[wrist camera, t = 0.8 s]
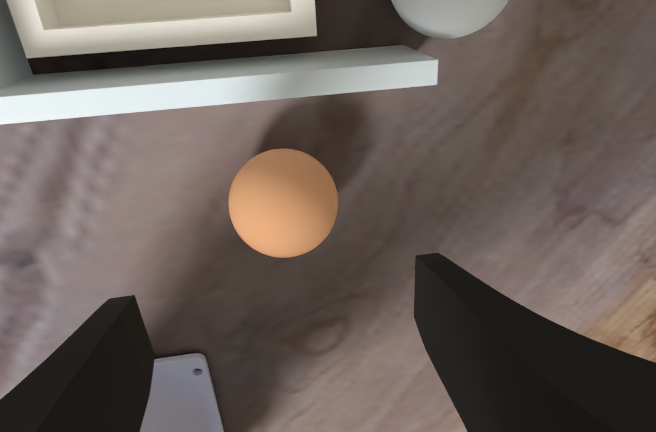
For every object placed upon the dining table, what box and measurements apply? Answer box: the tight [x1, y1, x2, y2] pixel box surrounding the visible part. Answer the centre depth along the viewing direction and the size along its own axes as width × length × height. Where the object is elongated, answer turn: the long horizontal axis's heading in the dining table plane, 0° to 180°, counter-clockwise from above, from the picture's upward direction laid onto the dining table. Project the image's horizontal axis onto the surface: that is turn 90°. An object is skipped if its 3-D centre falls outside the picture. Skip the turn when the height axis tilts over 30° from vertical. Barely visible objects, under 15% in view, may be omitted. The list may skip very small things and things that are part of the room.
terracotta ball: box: [229, 149, 338, 258], centre depth 18 cm, size 4×4×4 cm
